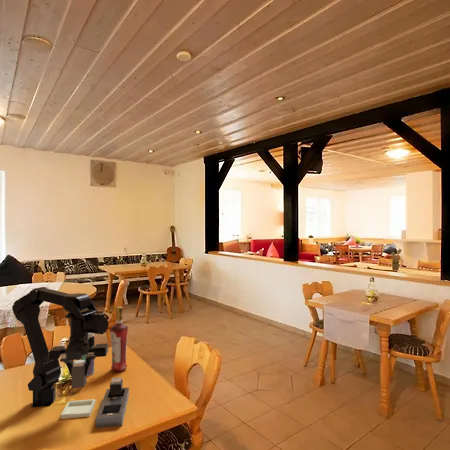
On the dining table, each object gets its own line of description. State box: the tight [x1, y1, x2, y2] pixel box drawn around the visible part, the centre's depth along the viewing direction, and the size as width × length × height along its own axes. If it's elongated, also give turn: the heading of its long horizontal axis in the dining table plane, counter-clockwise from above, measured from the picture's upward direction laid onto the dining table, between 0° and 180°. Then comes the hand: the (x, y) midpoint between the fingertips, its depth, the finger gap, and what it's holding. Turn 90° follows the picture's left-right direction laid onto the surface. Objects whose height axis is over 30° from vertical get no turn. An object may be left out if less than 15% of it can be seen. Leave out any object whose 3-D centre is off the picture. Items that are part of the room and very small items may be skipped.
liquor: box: [110, 306, 128, 373], centre depth 154 cm, size 7×7×28 cm
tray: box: [60, 398, 96, 420], centre depth 119 cm, size 9×9×2 cm
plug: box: [71, 359, 88, 389], centre depth 119 cm, size 4×4×8 cm
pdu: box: [95, 377, 130, 429], centre depth 119 cm, size 8×20×8 cm, turn 10°
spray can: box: [80, 333, 95, 377], centre depth 149 cm, size 6×6×20 cm
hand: (79, 376), depth 119 cm, fingers closed on plug, 4 cm apart
